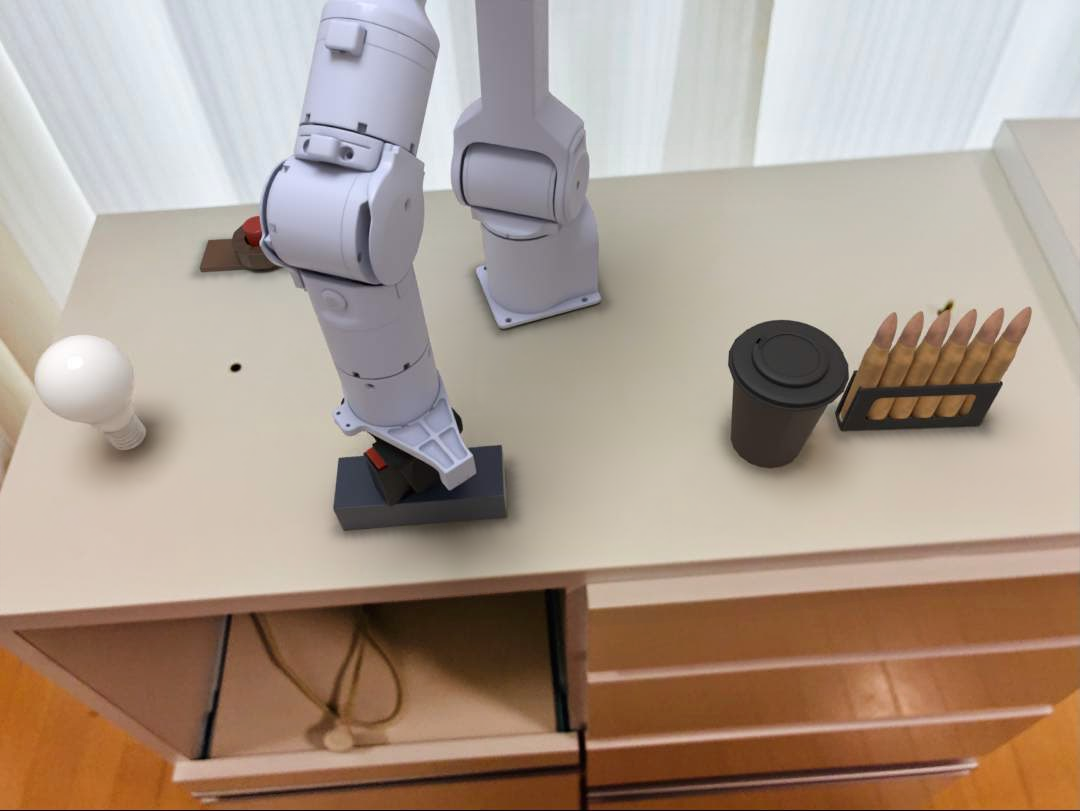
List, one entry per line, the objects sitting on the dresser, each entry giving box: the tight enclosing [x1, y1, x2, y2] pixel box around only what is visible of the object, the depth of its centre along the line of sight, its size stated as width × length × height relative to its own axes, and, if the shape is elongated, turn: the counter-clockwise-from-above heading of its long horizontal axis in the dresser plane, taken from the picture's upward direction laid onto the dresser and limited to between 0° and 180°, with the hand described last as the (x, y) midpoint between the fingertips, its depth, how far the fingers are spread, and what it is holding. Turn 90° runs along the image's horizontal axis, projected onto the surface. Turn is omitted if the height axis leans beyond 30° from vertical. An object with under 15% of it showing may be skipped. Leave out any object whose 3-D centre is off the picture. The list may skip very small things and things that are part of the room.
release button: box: [242, 215, 262, 246], centre depth 77 cm, size 2×2×2 cm
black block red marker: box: [362, 446, 416, 507], centre depth 57 cm, size 6×2×5 cm, turn 127°
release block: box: [199, 224, 286, 273], centre depth 78 cm, size 12×5×2 cm, turn 92°
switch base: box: [332, 444, 508, 531], centre depth 60 cm, size 12×4×3 cm, turn 94°
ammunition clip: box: [834, 306, 1033, 432], centre depth 59 cm, size 11×2×12 cm, turn 91°
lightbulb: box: [33, 334, 147, 451], centre depth 62 cm, size 6×6×11 cm
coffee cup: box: [727, 319, 850, 469], centre depth 59 cm, size 8×8×10 cm
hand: (417, 470), depth 58 cm, fingers closed on black block red marker, 2 cm apart
